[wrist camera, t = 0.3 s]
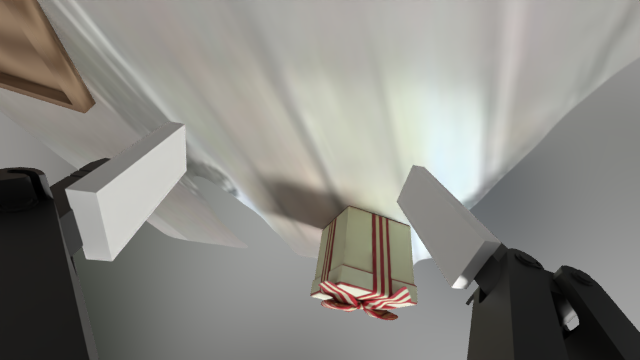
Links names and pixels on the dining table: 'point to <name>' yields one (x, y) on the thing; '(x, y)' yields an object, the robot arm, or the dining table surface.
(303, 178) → the dining table surface
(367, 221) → the gift box
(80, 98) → the walnut tray
